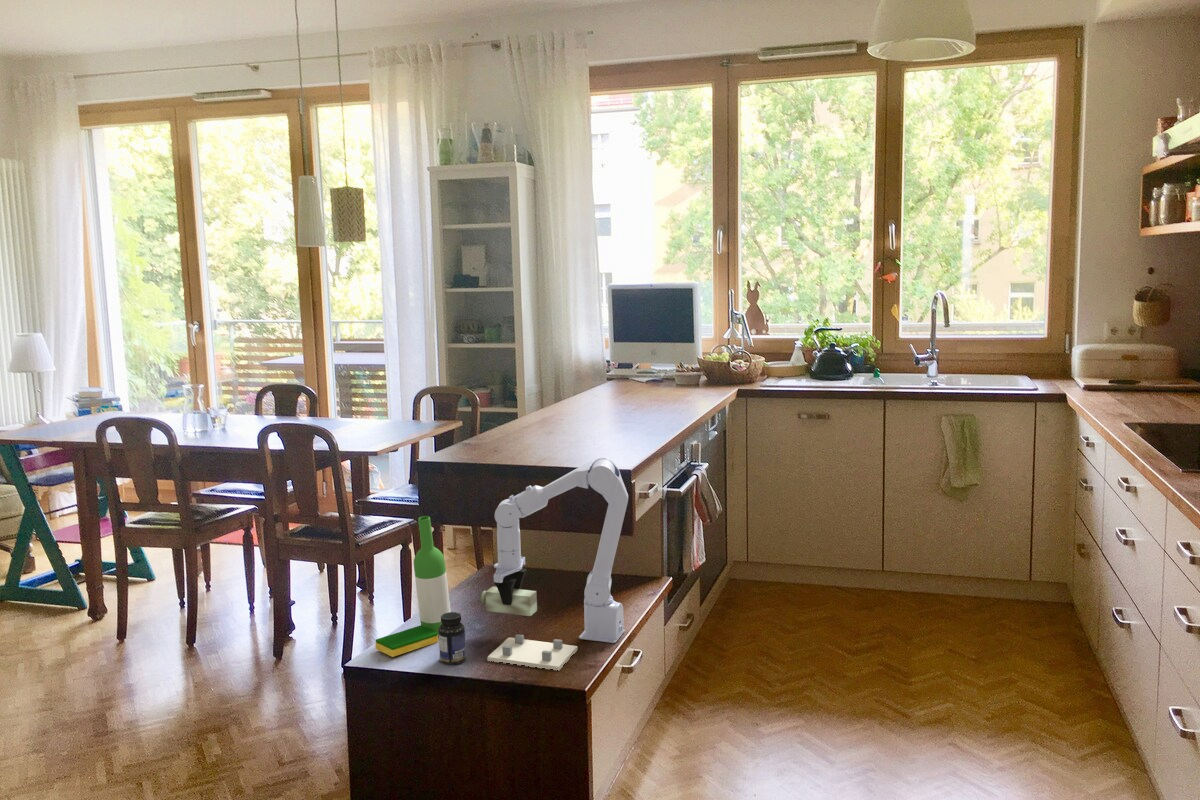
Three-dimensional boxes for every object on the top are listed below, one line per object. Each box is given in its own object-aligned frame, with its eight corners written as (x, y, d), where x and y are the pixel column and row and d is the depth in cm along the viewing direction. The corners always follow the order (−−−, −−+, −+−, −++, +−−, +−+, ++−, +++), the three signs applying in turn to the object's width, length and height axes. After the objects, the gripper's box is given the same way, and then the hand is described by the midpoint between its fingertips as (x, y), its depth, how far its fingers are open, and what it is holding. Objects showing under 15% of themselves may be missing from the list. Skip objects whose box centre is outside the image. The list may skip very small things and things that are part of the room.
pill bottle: (467, 654, 233) (465, 610, 231) (464, 665, 227) (463, 620, 225) (441, 655, 232) (439, 611, 231) (438, 666, 226) (436, 620, 225)
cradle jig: (577, 650, 234) (577, 638, 234) (559, 670, 223) (558, 658, 222) (508, 641, 240) (508, 629, 239) (487, 660, 229) (487, 648, 228)
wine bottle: (415, 633, 245) (401, 521, 238) (432, 619, 252) (419, 510, 244) (441, 638, 242) (428, 525, 234) (458, 624, 249) (446, 513, 241)
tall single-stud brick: (537, 610, 243) (536, 591, 242) (530, 616, 239) (530, 596, 238) (487, 604, 247) (486, 585, 247) (480, 610, 244) (479, 591, 243)
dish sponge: (374, 648, 235) (374, 639, 235) (421, 634, 245) (421, 624, 245) (392, 657, 230) (392, 647, 230) (438, 642, 240) (439, 632, 240)
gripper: (506, 538, 248) (508, 589, 251) (481, 555, 235) (483, 609, 237) (532, 540, 246) (533, 592, 248) (508, 558, 233) (510, 612, 235)
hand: (510, 601), depth 243 cm, fingers closed on tall single-stud brick, 4 cm apart
